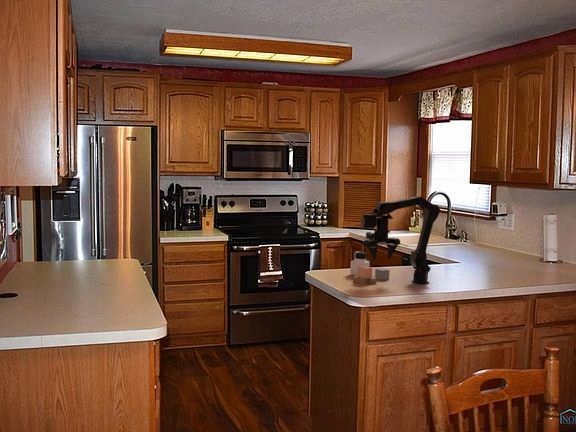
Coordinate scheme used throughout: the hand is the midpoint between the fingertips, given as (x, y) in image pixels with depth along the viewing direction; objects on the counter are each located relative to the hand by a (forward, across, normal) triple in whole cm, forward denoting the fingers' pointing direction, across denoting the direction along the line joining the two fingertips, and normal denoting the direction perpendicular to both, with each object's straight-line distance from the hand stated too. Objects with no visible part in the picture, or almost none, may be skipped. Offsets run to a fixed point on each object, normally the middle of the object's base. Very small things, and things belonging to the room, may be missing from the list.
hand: (381, 259), depth 296 cm
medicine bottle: (+12, -2, -19) cm, 23 cm away
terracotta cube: (+9, +8, -3) cm, 12 cm away
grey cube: (+12, -7, -7) cm, 15 cm away
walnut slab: (+12, +7, -3) cm, 14 cm away
